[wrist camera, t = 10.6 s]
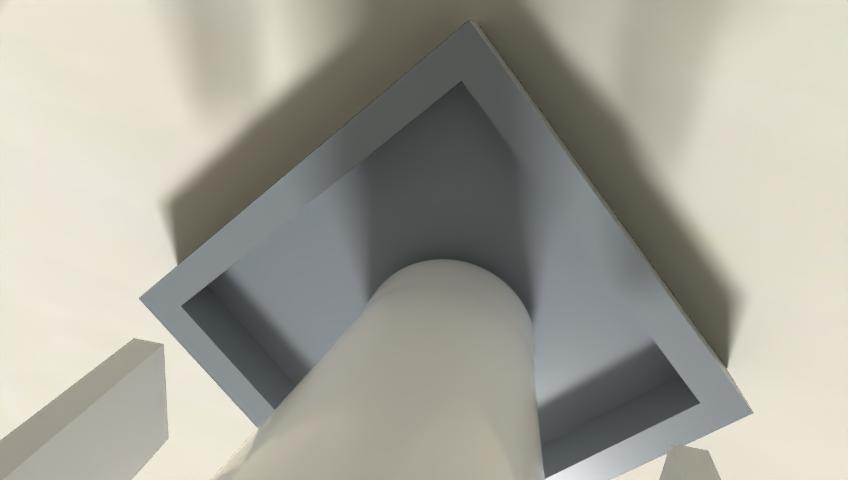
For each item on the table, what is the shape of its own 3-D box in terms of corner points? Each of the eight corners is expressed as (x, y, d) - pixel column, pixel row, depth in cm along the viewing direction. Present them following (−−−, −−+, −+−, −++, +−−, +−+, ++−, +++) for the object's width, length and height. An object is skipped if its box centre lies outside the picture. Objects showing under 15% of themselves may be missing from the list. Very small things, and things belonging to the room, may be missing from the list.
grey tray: (476, 22, 16) (469, 19, 14) (727, 370, 18) (753, 413, 16) (178, 271, 20) (138, 298, 18) (408, 530, 22) (397, 579, 20)
